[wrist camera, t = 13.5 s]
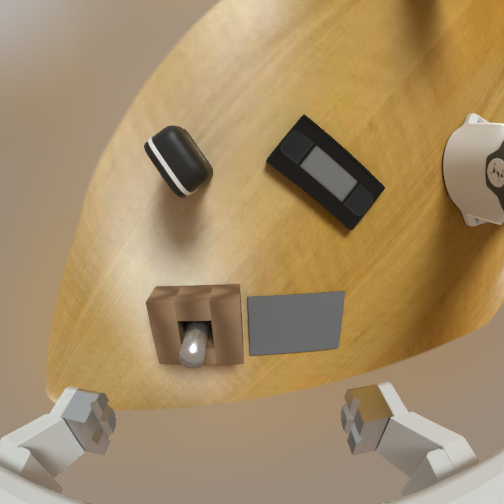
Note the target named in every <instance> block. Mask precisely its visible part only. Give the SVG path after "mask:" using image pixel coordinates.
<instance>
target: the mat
mask: <svg viewBox="0 0 504 504" xmlns="http://www.w3.org/2000/svg"><path fill="white" fill-rule="evenodd" d="M344 295H345V292H344V291H337V292H324V293H309V294H293V295H275V296H255V297H248V314H249V336H250V355H265V354H281V353H294V352H306V351H316V350H326V349H335V348H338V346H339V338H340V331H341V323H342V314H343V305H344Z"/></svg>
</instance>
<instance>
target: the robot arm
mask: <svg viewBox="0 0 504 504" xmlns="http://www.w3.org/2000/svg"><path fill="white" fill-rule="evenodd" d="M443 173H444V180H445V184H446V188H447V191H448V193H449V195H450V197H451V199H452V201H453V202H454V203H455V205H456V206H457V207H458V208H459V209H460V210H461V212H462V215H463V218H464V221H465V223H466V225H468V226H471V227H473V226H477V225H480V224H483V223H487V222H491V223H494V224H498V225H502V223H504V124H502V123H489V122H488V121H486V120H485V119H483V118H481V117H480V116H478V115H477V114H474V113H469V114H468V115H467V117H466V119H465V121H464V124H463V125H462V126H461V127H460V128H458V129H457V130H456V131H455V132H454V133H453V134H452V135H451V137H450V138H449V140H448V143H447V145H446V148H445V153H444V160H443ZM475 218H476V219H475ZM345 400H346V404H345V405H344V406H343V407H342V412H341V421H342V426H343V429H344V431H345V432H346V433H348V434H349V437H348V440H347V441H348V444H349V447H350V450H351V453H352V455H355V454H360V453H365V452H370V451H374V450H376V452H377V453H379V454H380V455H381V456H382V457H384V458H385V459H386V460H387V461H389V462H390V463H391V464H393V465H394V466H395V467H397V468H398V469H399V470H400V471H402V472H403V473H404V474H406V475H407V476H409V477H410V480H409V481H408V482H407V483H406V485H405V486H404V487H403V489H402V490H401V493H402V497H400V498H397V499H394V500H391V501H387V502H384V503H381V504H504V448H502V449H500V450H498V451H497V452H495V453H494V454H492V455H490V456H489V457H487V458H485V459H483V460H482V461H480V462H479V460H478V459H477V457H476V456H475V454H474V452H473V451H472V449H471V448H470V446H469V444H468V443H467V441H466V440H465V438H464V437H463V436H461V435H459V434H457V433H454V432H452V431H450V430H448V429H446V428H444V427H442V426H440V425H438V424H436V423H434V422H432V421H430V420H427V419H426V418H424V417H422V416H420V415H418V414H416V413H414V412H408V411H407V409H406V407H405V406H404V404H403V402H402V401H401V399H400V397H399V396H398V394H397V392H396V391H395V389H394V387H393V386H392V384H391V383H390V382H384V383H380V384H376V385H370V386H364V387H360V388H354V389H348V390H347V392H346V394H345ZM108 401H109V400H108V398H107V396H106V394H105V393H102V392H96V391H91V390H86V389H79V388H74V387H70V386H69V387H67V388H65V390H64V392H63V393H62V395H61V396H60V398H59V399H58V401H57V403H56V404H55V406H54V408H53V409H52V411H51V412H50V414H49V415H48V414H45V415H43V416H41V417H40V418H38V419H36V420H34V421H32V422H30V423H29V424H27V425H25V426H23V427H21V428H19V429H17V430H15V431H14V432H12V433H10V434H8V435H6V436H4V437H2V439H1V441H0V504H90V503H86V502H83V501H80V500H77V499H74V498H71V497H68V496H66V495H63V494H61V492H62V487H61V485H60V484H59V483H58V482H57V481H56V480H55V479H54V477H56V476H57V475H58V474H59V473H61V472H62V471H63V470H64V469H65V468H67V467H68V466H69V465H70V464H71V463H72V462H74V461H75V460H76V459H77V458H79V457H80V456H81V455H82V454H83V453H84V451H87V452H92V453H97V454H102V455H105V453H106V450H107V448H108V445H109V442H110V441H109V439H108V436H109V435H111V434H112V433H113V432H114V429H115V425H116V417H115V413H114V411H113V409H112V408H111V407H110V406H109V405H107V403H108Z"/></svg>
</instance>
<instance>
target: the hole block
mask: <svg viewBox="0 0 504 504" xmlns="http://www.w3.org/2000/svg"><path fill="white" fill-rule="evenodd" d="M146 305H147V310H148V315H149V320H150V325H151V329H152V334H153V338H154V343H155V347H156V351H157V355H158V359H159V363H160V364H182V363H181V362H180V360H179V353H180V349H181V346H182V342H183V339H184V336H185V332H186V329H187V324H186V321H211V323H212V330H209V333H208V339H207V345H206V350H205V356H204V362H203V364H202V365H221V364H244V359H243V331H242V314H241V295H240V284H229V285H199V286H158V287H155V288H154V290H153V292H152V293H151V295H150V296H149V298H148V300H147V301H146Z"/></svg>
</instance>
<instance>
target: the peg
mask: <svg viewBox="0 0 504 504" xmlns="http://www.w3.org/2000/svg"><path fill="white" fill-rule="evenodd" d="M210 322H211V321H189V322H188V326H187V329H186V332H185V336H184V339H183V342H182V346H181V349H180V353H179V360H180V362H181V363H182V364H183V365H184V366H186V367H189V368H197V367H200V366H201V365H202V364H203V362H204V356H205V350H206V345H207V339H208V333H209V328H210Z"/></svg>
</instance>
